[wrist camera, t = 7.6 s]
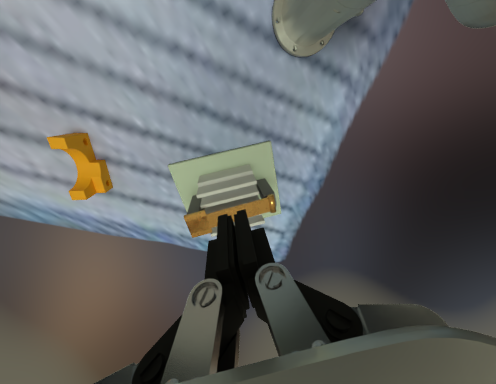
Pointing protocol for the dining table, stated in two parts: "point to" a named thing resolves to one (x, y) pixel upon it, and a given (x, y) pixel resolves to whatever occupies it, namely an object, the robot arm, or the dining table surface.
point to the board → (227, 180)
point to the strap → (205, 222)
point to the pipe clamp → (83, 165)
